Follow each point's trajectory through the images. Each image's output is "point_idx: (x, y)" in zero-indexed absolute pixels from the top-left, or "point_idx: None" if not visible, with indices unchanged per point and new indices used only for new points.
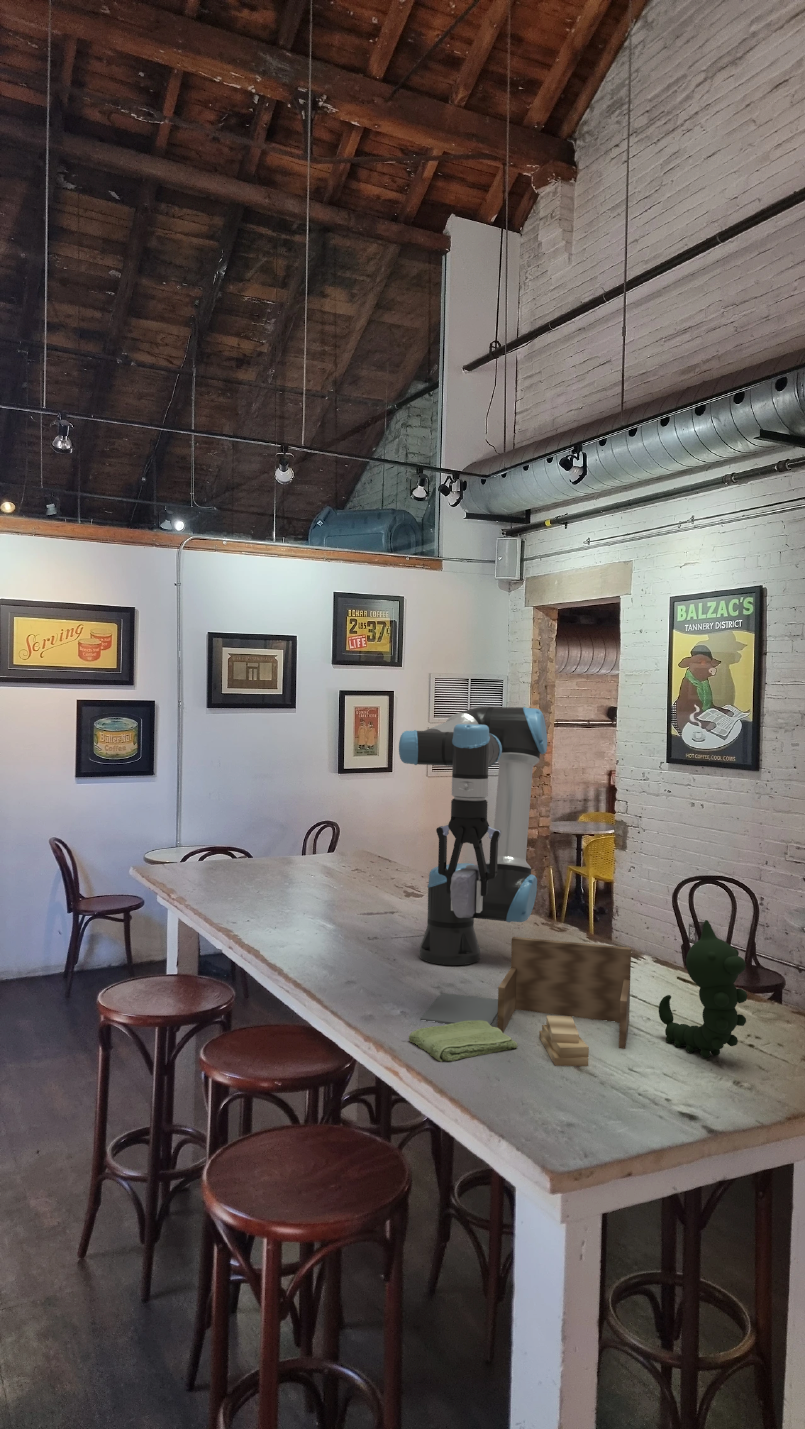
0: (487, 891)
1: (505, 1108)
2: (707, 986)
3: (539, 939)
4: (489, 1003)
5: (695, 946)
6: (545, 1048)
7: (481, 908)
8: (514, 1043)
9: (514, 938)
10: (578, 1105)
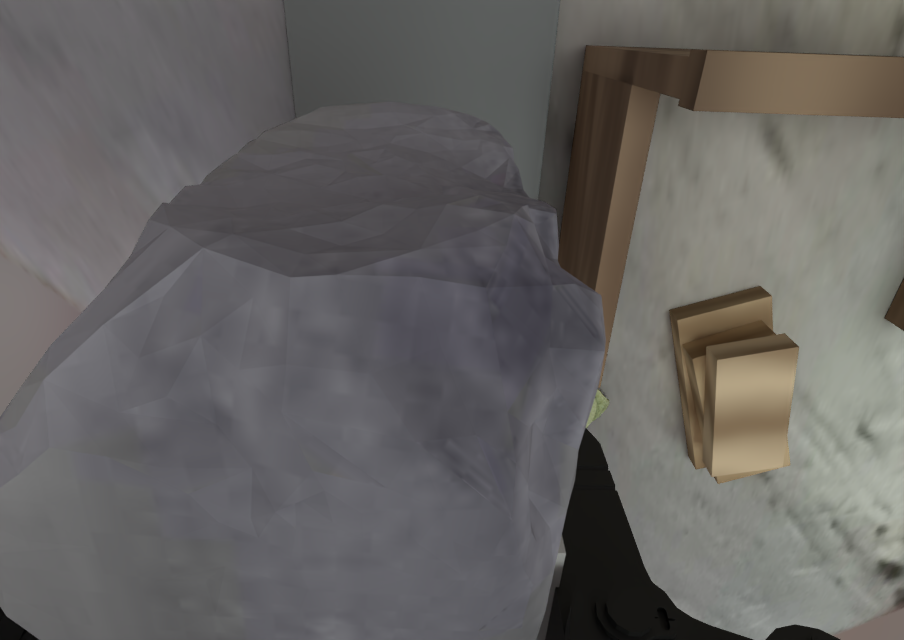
0: (602, 461)
1: None
2: None
3: (901, 66)
4: (503, 58)
5: None
6: (678, 377)
7: None
8: (602, 412)
9: (714, 103)
10: (706, 579)
